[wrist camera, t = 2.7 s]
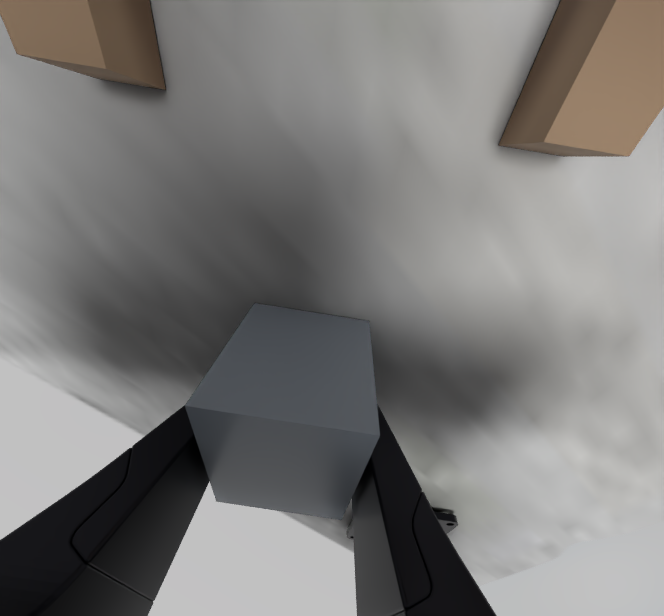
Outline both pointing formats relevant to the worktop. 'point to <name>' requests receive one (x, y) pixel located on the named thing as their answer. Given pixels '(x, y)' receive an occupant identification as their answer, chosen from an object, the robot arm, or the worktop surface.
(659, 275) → the worktop surface
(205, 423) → the blue-grey block
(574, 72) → the notched board
